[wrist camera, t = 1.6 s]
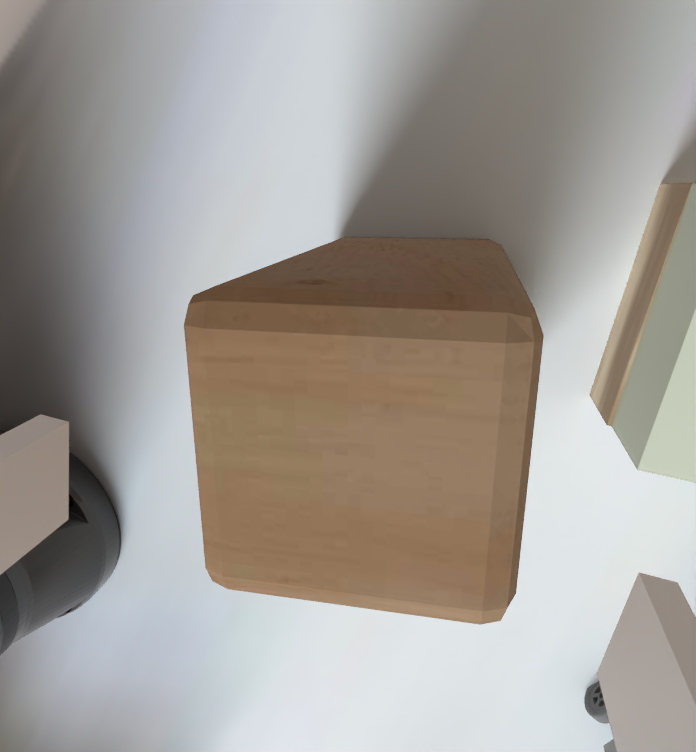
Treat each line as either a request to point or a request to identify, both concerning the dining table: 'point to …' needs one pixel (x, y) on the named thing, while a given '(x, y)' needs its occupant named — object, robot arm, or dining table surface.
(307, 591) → the wooden block
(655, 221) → the tower base
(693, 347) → the tower top
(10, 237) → the dining table surface
